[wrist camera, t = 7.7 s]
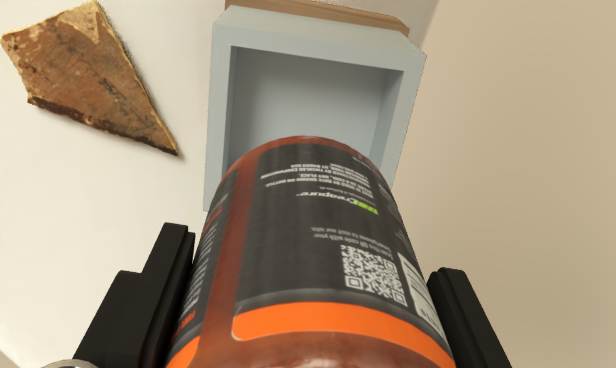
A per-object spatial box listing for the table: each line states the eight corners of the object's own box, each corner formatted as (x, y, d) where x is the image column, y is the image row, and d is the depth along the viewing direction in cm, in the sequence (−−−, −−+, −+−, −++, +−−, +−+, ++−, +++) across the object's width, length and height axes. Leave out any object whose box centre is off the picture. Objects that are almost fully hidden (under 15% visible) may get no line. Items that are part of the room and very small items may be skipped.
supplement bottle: (232, 288, 17) (135, 795, 7) (195, 139, 14) (-57, 631, 4) (395, 273, 17) (536, 773, 7) (392, 117, 14) (623, 584, 4)
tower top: (230, 4, 25) (213, 23, 19) (399, 31, 25) (427, 55, 20) (220, 160, 29) (202, 211, 23) (364, 178, 30) (379, 231, 24)
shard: (183, 147, 33) (177, 158, 32) (90, 178, 34) (80, 190, 33) (104, -6, 28) (92, -2, 27) (-2, 36, 30) (-19, 42, 28)
